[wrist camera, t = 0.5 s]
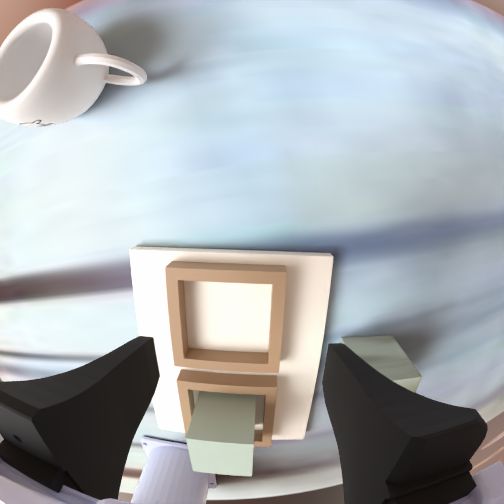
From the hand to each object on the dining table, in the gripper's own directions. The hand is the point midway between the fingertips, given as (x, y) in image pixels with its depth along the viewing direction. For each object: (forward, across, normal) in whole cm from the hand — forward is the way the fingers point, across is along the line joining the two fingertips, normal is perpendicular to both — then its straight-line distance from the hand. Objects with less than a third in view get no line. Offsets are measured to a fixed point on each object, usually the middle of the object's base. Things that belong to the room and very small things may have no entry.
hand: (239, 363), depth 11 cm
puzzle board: (+10, +2, +7) cm, 12 cm away
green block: (+10, -9, +7) cm, 15 cm away
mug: (+10, +12, -16) cm, 22 cm away
